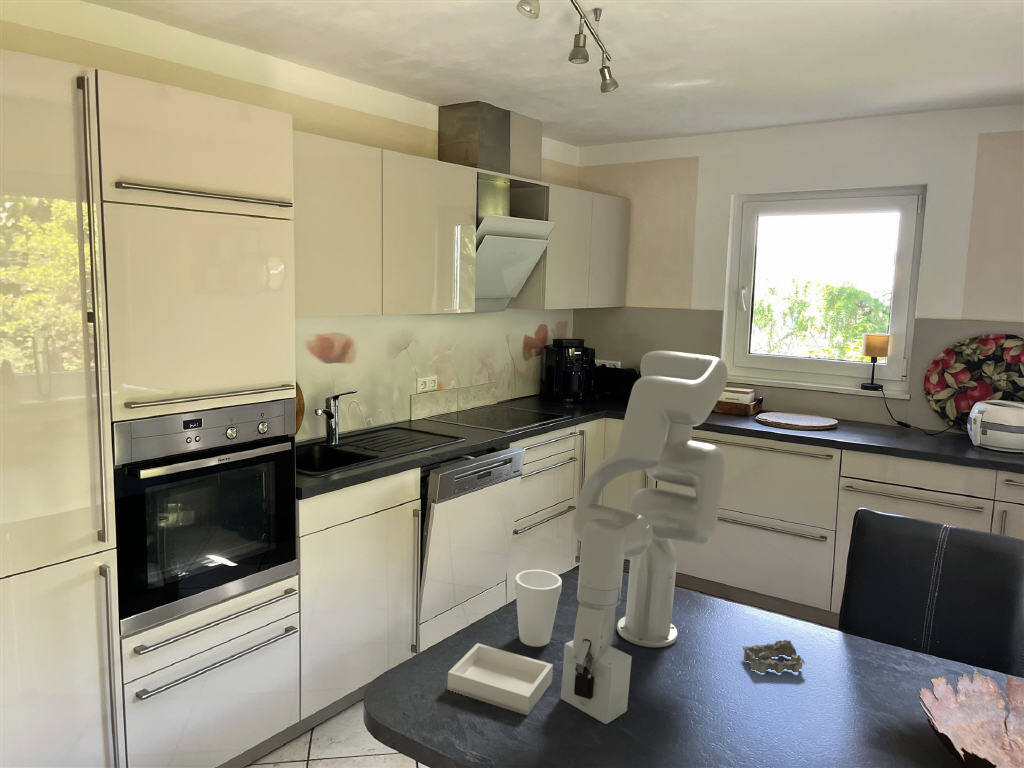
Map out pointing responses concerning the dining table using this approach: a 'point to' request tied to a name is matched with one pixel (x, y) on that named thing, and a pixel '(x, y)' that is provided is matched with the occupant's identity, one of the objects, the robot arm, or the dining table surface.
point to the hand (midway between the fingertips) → (591, 682)
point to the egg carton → (770, 651)
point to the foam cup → (536, 605)
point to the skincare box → (599, 684)
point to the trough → (501, 678)
